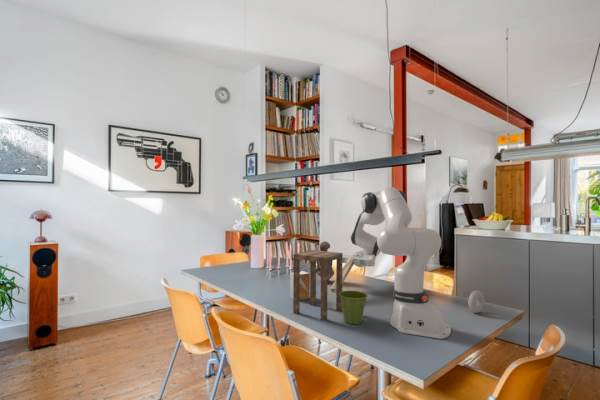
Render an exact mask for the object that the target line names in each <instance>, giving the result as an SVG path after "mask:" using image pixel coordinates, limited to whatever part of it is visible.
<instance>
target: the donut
mask: <svg viewBox="0 0 600 400" xmlns="http://www.w3.org/2000/svg"><path fill="white" fill-rule="evenodd" d="M467 304H468V308H469V310H470V311H471V312H472V313H474V314H479V313H481V312H482V311H483V308H484V306H485V296H484V294H483V292H481V290H473V291H472V292H471V293H470V295H469V296H468V302H467Z"/></svg>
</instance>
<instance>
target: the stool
mask: <svg viewBox="0 0 600 400" xmlns="http://www.w3.org/2000/svg"><path fill="white" fill-rule="evenodd" d="M343 255H344V254H343V252H335V251H328V250H327V251H320V250H316V249H311V250H307V251H301V252H298V253H293V272H294V280H293V299H292V300H293V301H292V302H293V304H292V309H293V310H292V311H293V312H292V313H293V314H295V315H297V314H300V312H301V311H300V304H301V303H300V301H301V300H300V272H301V261H310V262H309V263H310V265H309V266H310V271H309V273H310V287H309V304H310V306H316V305H317V302H316V301H317V273H316V269H317V262H321V277H320V281H321V282H320V320H321V321H324V322H325V321H327V320H328V281H327V268H328V262H329V261H335V260H336V265H335V266H336V268H335V269H336V273H335V274H336V279H335V280H336V293H335V294H336V295H335V296H336V297H335V298H336V299H335V307H336V308H335V310H336V311H337V312H343V309H342V302H341V298H340V295H339V293H340V292H342V291H343V284H342V269H343V263H342V256H343Z"/></svg>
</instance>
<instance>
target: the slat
mask: <svg viewBox="0 0 600 400" xmlns="http://www.w3.org/2000/svg"><path fill="white" fill-rule="evenodd" d="M353 261H355V260H354V258H349V259H348V260H347V262H346V264H345V263H344V266H342V285H343V284H344V282H345V281H346V278H347V276H348V275H349V273H350V272H351V269H352V268H353V266H355V265H354V264H353ZM330 291H331V293H335V294H336V279H335V280H334V282H333V284H332V285H331V286H330Z"/></svg>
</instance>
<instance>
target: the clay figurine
mask: <svg viewBox="0 0 600 400" xmlns="http://www.w3.org/2000/svg"><path fill="white" fill-rule="evenodd" d="M330 248H331V244H330V242H328V241H322V242H320V243H319V251H327V252H328V249H330ZM333 261H334V260H333ZM333 261H329V262H328V268H327V283H328V282H329V283H330V282H331V280H330V279H332V277H333V276H334V275H335V270H334V268H333ZM316 275H317V276H319V277H320V278H321V262H316ZM320 283H321V280H320Z"/></svg>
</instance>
